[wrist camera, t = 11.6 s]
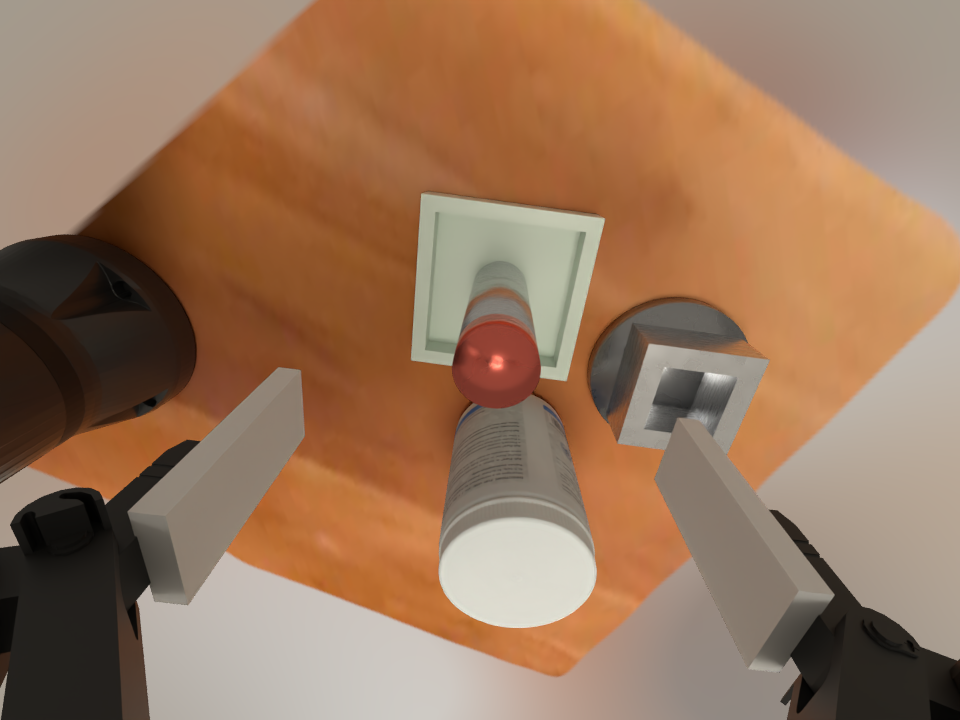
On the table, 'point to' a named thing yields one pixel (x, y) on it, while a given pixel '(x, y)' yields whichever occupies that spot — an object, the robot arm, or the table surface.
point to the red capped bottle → (497, 340)
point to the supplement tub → (514, 519)
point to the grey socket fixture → (673, 372)
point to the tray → (511, 238)
